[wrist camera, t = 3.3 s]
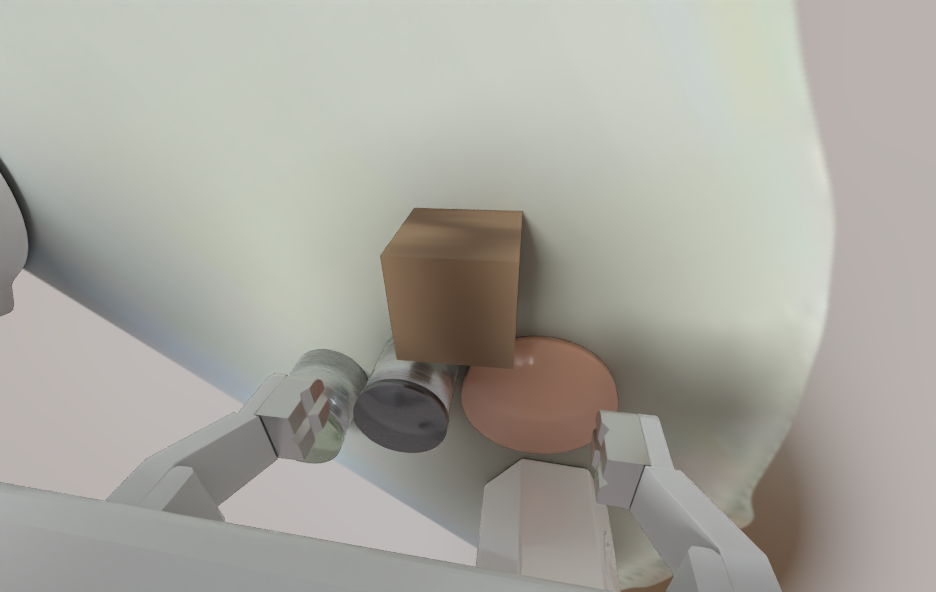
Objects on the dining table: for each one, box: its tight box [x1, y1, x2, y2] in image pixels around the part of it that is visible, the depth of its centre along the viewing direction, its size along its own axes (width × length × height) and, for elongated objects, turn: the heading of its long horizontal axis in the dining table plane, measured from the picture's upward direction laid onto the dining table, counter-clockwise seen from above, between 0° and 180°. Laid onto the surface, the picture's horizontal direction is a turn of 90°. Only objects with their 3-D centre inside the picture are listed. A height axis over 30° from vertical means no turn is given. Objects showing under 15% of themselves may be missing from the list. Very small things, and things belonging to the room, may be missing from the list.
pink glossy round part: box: [461, 336, 618, 454], centre depth 23 cm, size 9×9×1 cm
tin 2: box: [353, 337, 459, 453], centre depth 22 cm, size 5×5×5 cm
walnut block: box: [380, 208, 522, 369], centre depth 17 cm, size 5×5×5 cm
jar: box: [476, 459, 621, 592], centre depth 24 cm, size 9×8×12 cm
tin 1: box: [289, 349, 367, 463], centre depth 23 cm, size 5×5×5 cm
